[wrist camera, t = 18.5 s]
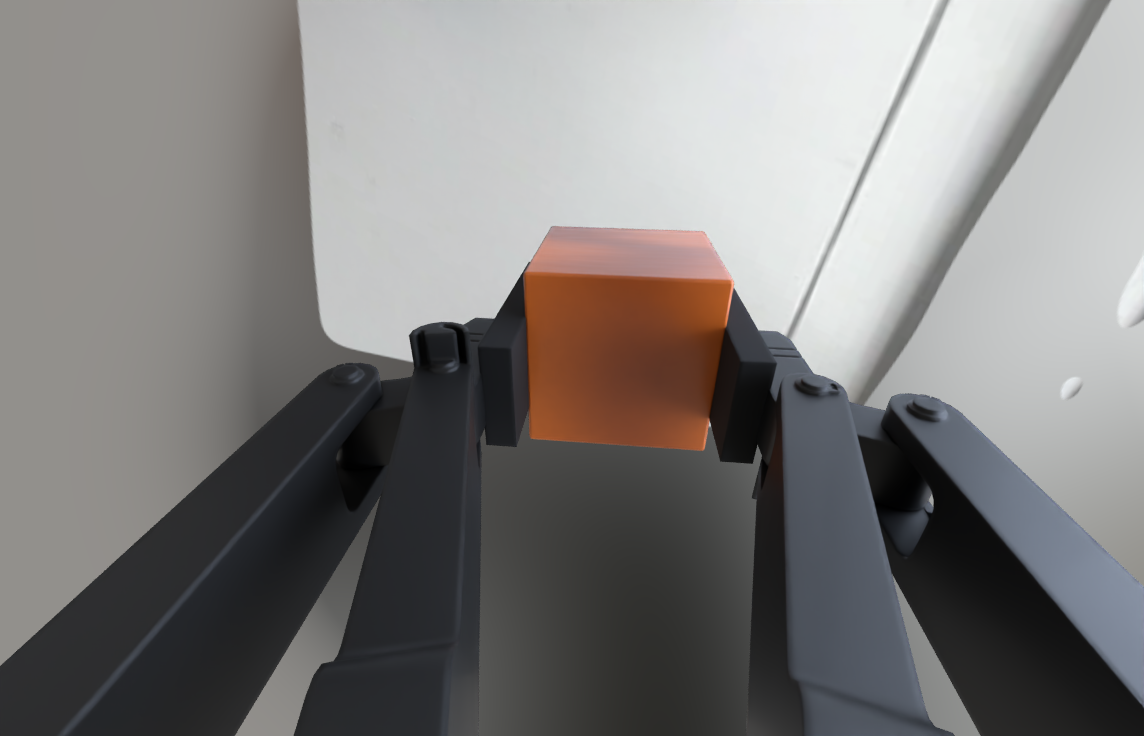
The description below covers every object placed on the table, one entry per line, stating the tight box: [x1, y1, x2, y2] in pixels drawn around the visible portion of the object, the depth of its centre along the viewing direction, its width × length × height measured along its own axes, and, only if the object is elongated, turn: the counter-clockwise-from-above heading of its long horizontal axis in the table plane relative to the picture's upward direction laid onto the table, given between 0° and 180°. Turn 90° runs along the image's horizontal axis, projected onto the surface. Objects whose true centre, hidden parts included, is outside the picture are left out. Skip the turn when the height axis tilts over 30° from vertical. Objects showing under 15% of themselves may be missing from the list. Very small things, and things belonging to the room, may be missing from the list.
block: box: [523, 226, 734, 451], centre depth 15 cm, size 5×5×5 cm
